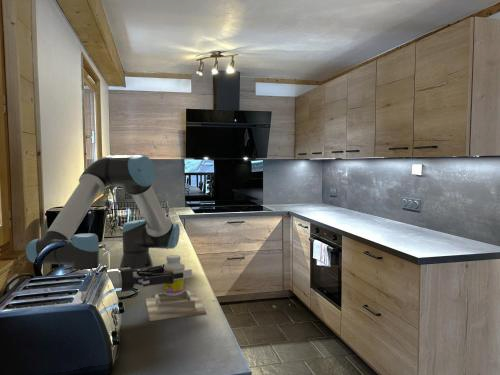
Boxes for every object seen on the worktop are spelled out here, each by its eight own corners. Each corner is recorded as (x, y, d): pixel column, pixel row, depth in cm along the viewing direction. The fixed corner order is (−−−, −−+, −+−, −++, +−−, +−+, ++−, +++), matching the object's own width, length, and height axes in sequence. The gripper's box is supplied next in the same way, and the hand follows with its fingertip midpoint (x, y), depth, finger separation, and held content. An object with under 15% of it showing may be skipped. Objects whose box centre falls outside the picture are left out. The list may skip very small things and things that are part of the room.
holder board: (145, 301, 137) (145, 292, 136) (195, 295, 143) (195, 286, 142) (149, 320, 120) (149, 310, 120) (205, 313, 126) (205, 303, 125)
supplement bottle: (160, 293, 131) (159, 256, 130) (176, 288, 135) (176, 253, 135) (171, 297, 126) (170, 259, 125) (187, 293, 131) (187, 256, 130)
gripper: (114, 283, 130) (178, 274, 141) (125, 301, 113) (198, 288, 124) (113, 262, 130) (178, 254, 141) (125, 276, 113) (198, 266, 124)
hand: (187, 270), depth 133 cm, fingers closed on supplement bottle, 7 cm apart
